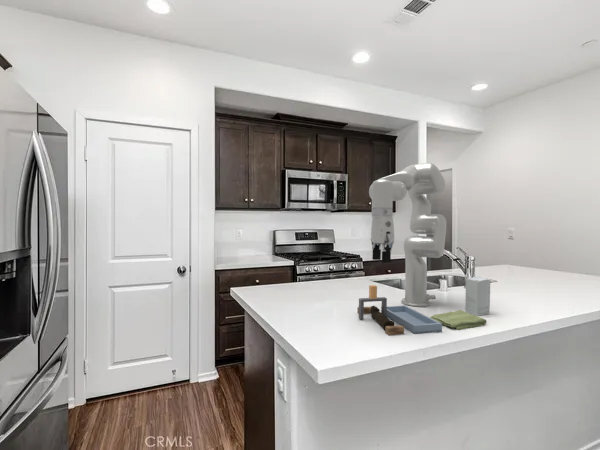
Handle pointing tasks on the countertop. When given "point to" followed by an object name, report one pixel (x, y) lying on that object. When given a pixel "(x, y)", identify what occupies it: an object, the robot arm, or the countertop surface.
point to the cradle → (388, 329)
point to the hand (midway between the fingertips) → (381, 260)
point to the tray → (413, 320)
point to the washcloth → (459, 320)
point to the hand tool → (380, 317)
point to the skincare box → (477, 296)
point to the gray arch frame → (372, 298)
